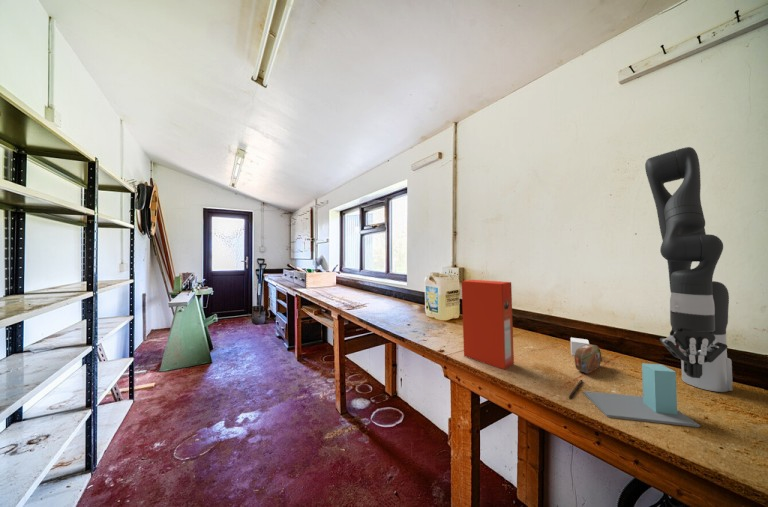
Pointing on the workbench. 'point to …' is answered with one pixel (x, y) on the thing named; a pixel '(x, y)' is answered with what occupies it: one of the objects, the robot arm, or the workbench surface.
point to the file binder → (488, 322)
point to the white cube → (577, 344)
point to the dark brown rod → (575, 389)
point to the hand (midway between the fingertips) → (692, 376)
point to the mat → (634, 409)
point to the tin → (587, 358)
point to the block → (659, 388)
